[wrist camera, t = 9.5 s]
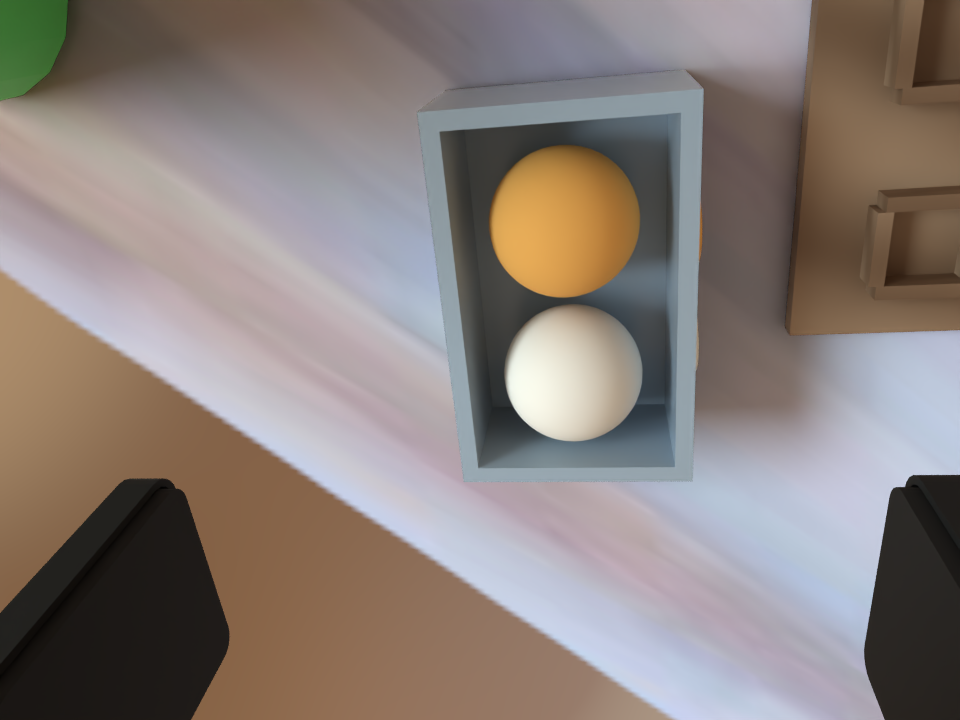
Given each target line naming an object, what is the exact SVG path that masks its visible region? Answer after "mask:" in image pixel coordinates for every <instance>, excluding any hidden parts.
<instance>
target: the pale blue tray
mask: <svg viewBox="0 0 960 720" xmlns="http://www.w3.org/2000/svg"><path fill="white" fill-rule="evenodd" d="M703 96H704V89H703V88H702V87H701V86H700V85H699V83H698V82H697V81H696V80H695V79H694V78H693V77H692V76H691V75H690V74H689V73H688V72H687V71H686V70H674V71H662V72H650V73H639V74H627V75H616V76H604V77H592V78H581V79H569V80H558V81H546V82H534V83H523V84H511V85H500V86H488V87H476V88H465V89H453V90H445V91H444V92H443V93H441V94H440V95H439V96H438V97H436V98H435V99H434V100H432V101H431V102H430V103H428V104H427V105H426V106H425V107H423V108H422V109H421V110H419V111H418V112H417V117H418V125H419V132H420V140H421V148H422V156H423V164H424V172H425V180H426V188H427V195H428V203H429V211H430V219H431V227H432V235H433V243H434V251H435V259H436V266H437V274H438V282H439V290H440V298H441V306H442V314H443V322H444V329H445V337H446V345H447V353H448V361H449V369H450V377H451V385H452V393H453V400H454V408H455V416H456V424H457V432H458V440H459V448H460V456H461V463H462V471H463V479H464V482H636V481H692V478H693V443H694V409H695V374H696V370H697V367H698V358H699V333H698V320H697V304H698V270H699V261H700V257H701V250H702V209H701V201H700V200H701V166H702V131H703ZM556 145H576V146H582V147H586V148H590V149H592V150H594V151H597V152H599V153H601V154H603V155H604V156H606V157H608V158H609V159H610V160H612V161H613V162H614V163H615V164H617V166H618V167H619V168H620V169H621V170H622V171H623V172H624V173H625V175H626V176H627V178H628V179H629V181H630V183H631V185H632V186H633V189H634V191H635V194H636V197H637V199H638V204H639V209H640V229H639V235H638V240H637V243H636V246H635V249H634V251H633V253H632V255H631V257H630V259H629V260H628V262H627V263H626V265H625V266H624V268H623V269H622V270H621V271H620V272H619V273H618V275H617V276H615V277H614V278H613V279H612V280H611V281H610V282H608V283H607V284H605V285H604V286H602V287H600V288H598V289H596V290H594V291H592V292H590V293H587V294H584V295H580V296H575V297H552V296H546V295H543V294H539V293H536V292H534V291H532V290H530V289H528V288H526V287H524V286H523V285H521V284H520V283H519V282H517V281H516V280H515V279H514V278H513V277H512V276H511V275H510V274H509V273H508V272H507V271H506V270H505V269H504V267H503V266H502V264H501V263H500V261H499V260H498V258H497V256H496V254H495V251H494V249H493V245H492V242H491V238H490V232H489V213H490V207H491V203H492V199H493V196H494V194H495V191H496V189H497V187H498V185H499V183H500V181H501V180H502V179H503V177H504V176H505V175H506V173H507V172H508V171H509V170H510V169H511V168H512V167H513V166H514V165H515V164H516V163H517V162H518V161H520V160H521V159H522V158H524V157H525V156H527V155H529V154H530V153H532V152H535V151H537V150H539V149H542V148H546V147H549V146H556ZM567 304H580V305H587V306H591V307H595V308H597V309H600V310H602V311H604V312H606V313H608V314H610V315H611V316H613V317H614V318H615V319H617V320H618V321H619V322H620V323H621V324H622V325H623V326H624V327H625V328H626V329H627V330H628V332H629V333H630V334H631V336H632V337H633V339H634V341H635V343H636V345H637V347H638V350H639V353H640V357H641V361H642V371H643V372H642V385H641V389H640V393H639V396H638V398H637V401H636V403H635V405H634V407H633V408H632V410H631V411H630V413H629V414H628V415H627V417H626V418H625V419H624V420H623V421H622V422H621V423H620V424H619V425H618V426H616V427H615V428H614V429H612V430H611V431H609V432H607V433H606V434H604V435H602V436H599V437H597V438H593V439H590V440H585V441H563V440H557V439H554V438H550V437H548V436H545V435H543V434H541V433H539V432H538V431H536V430H535V429H533V428H532V427H531V426H529V425H528V424H527V423H526V422H525V421H524V420H523V419H522V418H521V417H520V416H519V414H518V413H517V412H516V410H515V409H514V407H513V405H512V403H511V401H510V399H509V396H508V393H507V390H506V385H505V379H504V368H505V360H506V356H507V352H508V349H509V347H510V345H511V342H512V340H513V338H514V337H515V335H516V334H517V332H518V331H519V330H520V329H521V328H522V326H523V325H524V324H525V323H526V322H527V321H529V320H530V319H531V318H532V317H534V316H535V315H537V314H539V313H541V312H543V311H545V310H547V309H549V308H552V307H555V306H560V305H567Z"/></svg>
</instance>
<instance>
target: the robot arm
mask: <svg viewBox="0 0 960 720" xmlns="http://www.w3.org/2000/svg"><path fill="white" fill-rule="evenodd" d="M228 645H229V628H228V624H227V621H226V618H225V615H224V612H223V609H222V606H221V603H220V600H219V597H218V594H217V591H216V588H215V584H214V581H213V578H212V575H211V572H210V569H209V566H208V563H207V560H206V557H205V553H204V550H203V547H202V544H201V541H200V538H199V535H198V532H197V529H196V526H195V523H194V519H193V517H192V513H191V510H190V507H189V504H188V501H187V498H186V496H185V494H184V492H183V491H181V490H180V489H176V488H175V486H174V484H173V483H172V482H171V481H170V480H167V479H127V480H124V481H123V482H121V483H120V484H119V485H118V486H117V487H116V488H115V489H114V490H113V491H112V493H110V495H109V496H108V497H107V498H106V499H105V500H104V501H103V502H102V503H101V504H100V506H99V507H98V508H97V509H96V510H95V511H94V512H93V513H92V514H91V515H90V516H89V517H88V518H87V520H86V521H85V522H84V523H83V524H82V525H81V526H80V527H79V528H78V529H77V530H76V532H75V533H74V534H73V535H72V536H71V537H70V538H69V539H68V540H67V541H66V542H65V543H64V544H63V546H62V547H61V548H60V549H59V550H58V551H57V552H56V553H55V554H54V555H53V556H52V557H51V559H50V560H49V561H48V562H47V563H46V564H45V565H44V566H43V567H42V568H41V569H40V571H39V572H38V573H37V574H36V575H35V576H34V577H33V578H32V579H31V580H30V581H29V582H28V584H27V585H26V586H25V587H24V588H23V589H22V590H21V591H20V592H19V593H18V594H17V595H16V596H15V598H14V599H13V600H12V601H11V602H10V603H9V604H8V605H7V606H6V607H5V608H4V610H3V611H2V612H1V613H0V720H191V719H192V717H193V715H194V713H195V711H196V709H197V707H198V706H199V704H200V702H201V700H202V698H203V696H204V694H205V692H206V691H207V688H208V687H209V685H210V683H211V681H212V680H213V677H214V676H215V674H216V672H217V670H218V668H219V666H220V665H221V663H222V661H223V659H224V657H225V655H226V652H227V649H228ZM864 657H865V666H866V670H867V674H868V677H869V680H870V683H871V686H872V688H873V691H874V693H875V696H876V698H877V701H878V703H879V706H880V709H881V711H882V714H883V716H884V719H885V720H960V475H913V476H911V477H909V479H908V481H907V482H906V486H905V487H896V488H893V490H892V491H891V494H890V498H889V504H888V510H887V516H886V522H885V528H884V534H883V539H882V545H881V551H880V557H879V563H878V569H877V575H876V581H875V587H874V593H873V599H872V605H871V611H870V617H869V623H868V629H867V635H866V640H865V648H864Z"/></svg>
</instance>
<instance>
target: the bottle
mask: <svg viewBox="0 0 960 720" xmlns="http://www.w3.org/2000/svg"><path fill="white" fill-rule="evenodd" d="M67 7H68V0H0V101H1V100H5V99H9V98H13V97H17V96H21V95H24V94H25V93H26V92H27V91H28V90H30V89H31V88H32V87H33V86H34V85H36V84H37V83H38V82H39V81H40V80H41V79H43V78H44V77H45V76H46V75H47V74H49V73H50V71H51V69H52V67H53V64H54V62H55V60H56V58H57V55H58V53H59V51H60V49H61V46H62V44H63V42H64V40H65V38H66V25H67Z"/></svg>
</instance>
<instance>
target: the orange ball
mask: <svg viewBox="0 0 960 720" xmlns="http://www.w3.org/2000/svg"><path fill="white" fill-rule="evenodd" d="M639 229H640V209H639V204H638V199H637V197H636V194H635V191H634V189H633V186H632V185H631V183H630V181H629V179H628V178H627V176H626V175H625V173H624V172H623V171H622V170H621V169H620V168H619V167H618V166H617V164H615V163H614V162H613V161H612V160H610V159H609V158H608V157H606V156H604V155H603V154H601V153H599V152H597V151H594V150H592V149H590V148H586V147H582V146H576V145H556V146H549V147H546V148H542V149H539V150H537V151H535V152H532V153H530V154H529V155H527V156H525V157H524V158H522V159H521V160H520V161H518V162H517V163H516V164H515V165H514V166H513V167H512V168H511V169H510V170H509V171H508V172H507V173H506V175H505V176H504V177H503V179H502V180H501V181H500V183H499V185H498V187H497V189H496V191H495V194H494V196H493V199H492V203H491V207H490V213H489V232H490V238H491V242H492V245H493V249H494V251H495V254H496V256H497V258H498V260H499V261H500V263H501V264H502V266H503V267H504V269H505V270H506V271H507V272H508V273H509V274H510V275H511V276H512V277H513V278H514V279H515V280H516V281H517V282H519V283H520V284H521V285H523V286H524V287H526V288H528V289H530V290H532V291H534V292H536V293H539V294H543V295H546V296H552V297H575V296H580V295H584V294H587V293H590V292H592V291H594V290H596V289H598V288H600V287H602V286H604V285H605V284H607V283H608V282H610V281H611V280H612V279H613V278H614V277H615V276H617V275H618V273H619V272H620V271H621V270H622V269H623V268H624V266H625V265H626V263H627V262H628V260H629V259H630V257H631V255H632V253H633V251H634V249H635V246H636V243H637V240H638V235H639Z"/></svg>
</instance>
